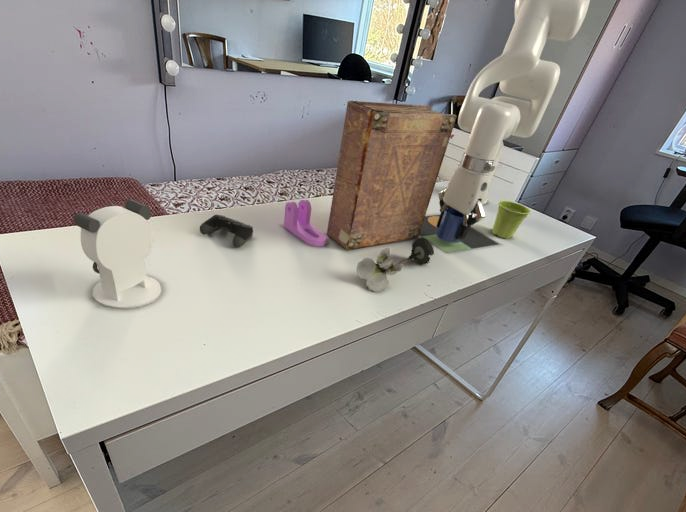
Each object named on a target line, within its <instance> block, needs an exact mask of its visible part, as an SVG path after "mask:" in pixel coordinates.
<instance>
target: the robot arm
mask: <svg viewBox="0 0 686 512" xmlns="http://www.w3.org/2000/svg"><path fill="white" fill-rule="evenodd" d="M590 1H591V0H515V1H514V23H513V25H512V29H511V30H510V33H509V36H508V38H507V40H506V43H505V46H504V48H503V51H502V53H501V54H500V55H499V56H497V57H495V58H494V59H492V60H491V61H489V62H488V64H487V65H485V66H484V67H483V68H482V69H481V70H480V71H478V73H477V74H476V75H475V77H474V78H473V80H472V82H471V83H470V85H469V87H468V90H467V92H466V95H465V97H464V100H463V102H462V105H461V107H460V110H459V114H458V118H457V124H458V127H459V129H460V130H462V131H464V132H467V133H469V137H468V139H467V141H466V145H465V148H464V151H463V153H462V157H461V159H460V162H459V164H457V166H456V168H455V169H454V171H453V173H452V175H451V177H450V180H449V181H448V184H447V187H446V189H444V190H442V191H440V192H439V193H438V200H439V203H438V204H439V213H440V214H439V215H440V217H439V220H438V223H437V227H438V228H439V225H440V222H441V219H442V216H443V213H444V210H445V209H446V208H453V209H455V210H457V211H459V212H461V213H462V214H463V224H462V225H460V228H459V230H458V233H457V235H456V239H457V240H459V239H465V237H466V236H467V233H468V231H469V228H470V227H471V226H474V225H475V224H477V223H479V222H480V221H481V220H484V218H486V214H485V211H484V208H483V206H484V205H486V204H487V203H488V200H489V199H488V197H487V195H488V192H489V188H490V184H491V181H492V179H493V177H494V175H495V172H496V170H497V167H498V165H499V162H500V160H501V157H502V155H503V152H504V149H505V147H504V146H505V145H504V141H503V140H506V139H508V138H509V137H510V136H513V137H514V136H515V137H517V138H525V139H527V138H530V137H532V136H533V135H534V134H535V132H536V131H537V129H538V127H539V125H540V123H541V121H542V118H543V116H544V114H545V112H546V109H547V108H548V105H549V103H550V101H551V99H552V97H553V94H554V93H555V89H556V87H557V85H558V82H559V79H560V77H561V76H560V75H561V67H560V65H559V64H558V63H556V62H554V61H549V60H544V59H540V58H541V55H542V53H543V50H544V48H545V45H546V44H547V39H549V40H553V41H557V42H558V41H559V42H563V43H564V42H570V41H571V40H572V39H573V38H575V36H576V35H577V33H578V32H579V31H580V29H581V27H582V26H583V25H582V24H583V23H584V21H585V19H586V16H587V12H588V9H589V6H590V3H591V2H590ZM497 83H499V90H500V91H501V92H502V93H504V94H506V95H508V96H503V95H502V96H495V97H492V98H487V97H486V98H485V97H481V96H479V95H480V94H481V92H482V91H484V90H485V89H486V88H488V87H489V86H492V85H493V84H497ZM509 96H513V97H509ZM515 97H516V98H515ZM519 98H521V99H527V100H530V101H527V100H521V99H519ZM468 215H469V220H468Z"/></svg>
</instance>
